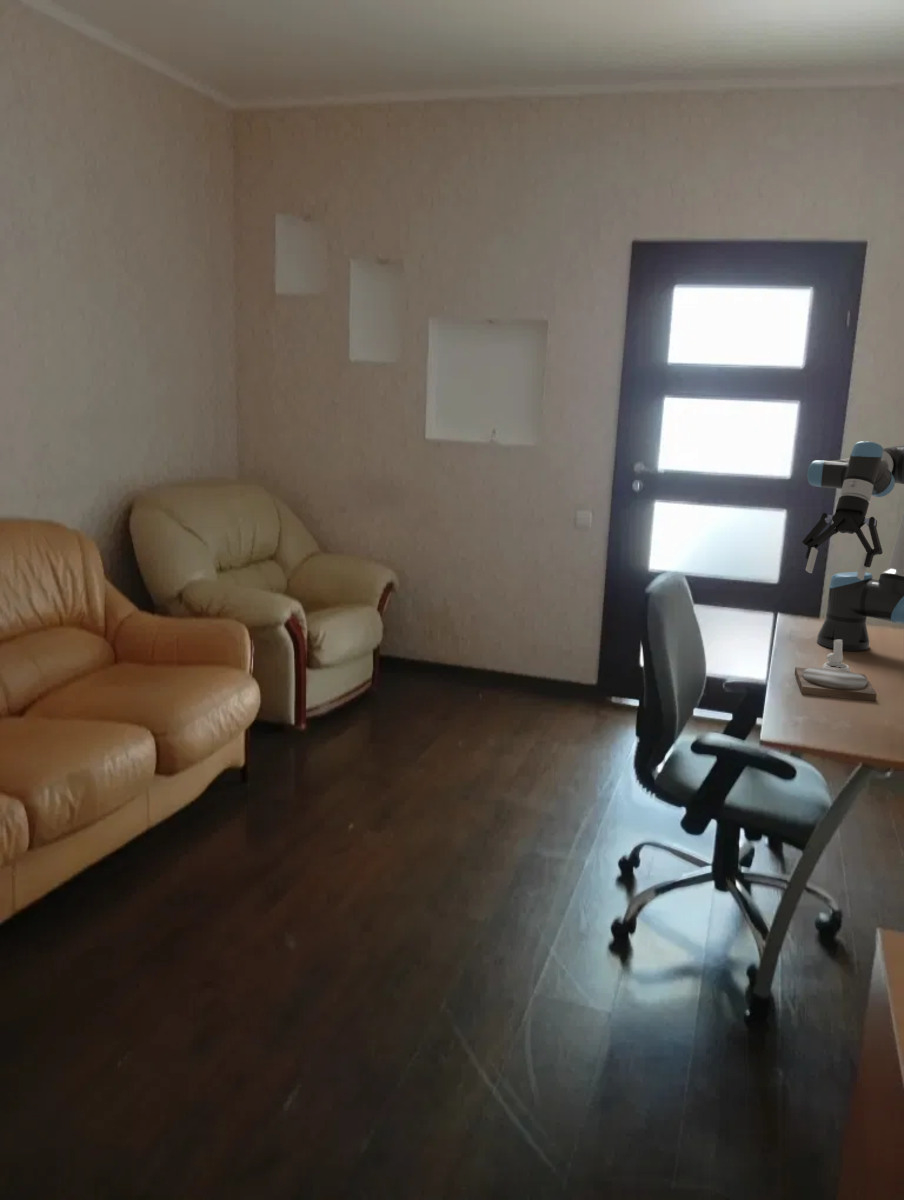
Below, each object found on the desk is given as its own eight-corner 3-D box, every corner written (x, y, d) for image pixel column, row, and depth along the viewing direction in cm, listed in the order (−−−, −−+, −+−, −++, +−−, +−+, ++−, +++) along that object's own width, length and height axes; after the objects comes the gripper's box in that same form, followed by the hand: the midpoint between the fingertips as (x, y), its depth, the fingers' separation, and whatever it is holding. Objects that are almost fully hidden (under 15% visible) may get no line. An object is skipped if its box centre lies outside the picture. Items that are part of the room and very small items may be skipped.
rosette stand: (794, 673, 253) (795, 663, 253) (863, 680, 249) (864, 670, 248) (801, 693, 236) (802, 682, 236) (875, 701, 232) (877, 690, 231)
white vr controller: (826, 659, 250) (820, 640, 254) (824, 685, 258) (818, 666, 263) (854, 656, 248) (848, 636, 253) (852, 682, 256) (846, 663, 261)
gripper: (803, 491, 245) (782, 565, 243) (899, 497, 227) (877, 577, 225) (813, 500, 250) (793, 573, 248) (908, 507, 232) (887, 585, 230)
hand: (833, 575), depth 237 cm, fingers open, 13 cm apart
